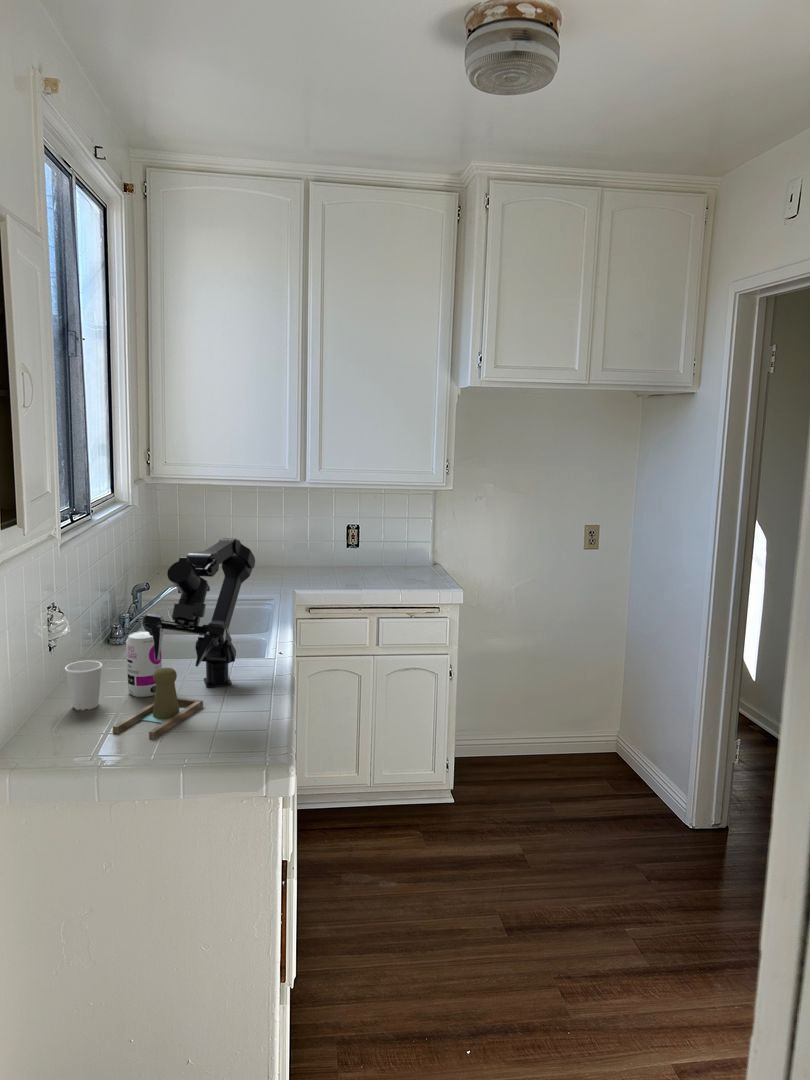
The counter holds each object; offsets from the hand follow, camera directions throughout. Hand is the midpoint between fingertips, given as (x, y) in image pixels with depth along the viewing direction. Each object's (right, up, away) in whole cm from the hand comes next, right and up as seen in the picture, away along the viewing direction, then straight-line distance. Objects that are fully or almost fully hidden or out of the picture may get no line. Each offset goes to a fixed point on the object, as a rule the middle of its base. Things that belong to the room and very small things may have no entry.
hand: (176, 663), depth 184 cm
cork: (-3, -13, +3) cm, 13 cm away
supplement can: (-13, -10, +18) cm, 24 cm away
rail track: (-4, -13, +1) cm, 14 cm away
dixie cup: (-24, -12, +8) cm, 28 cm away
